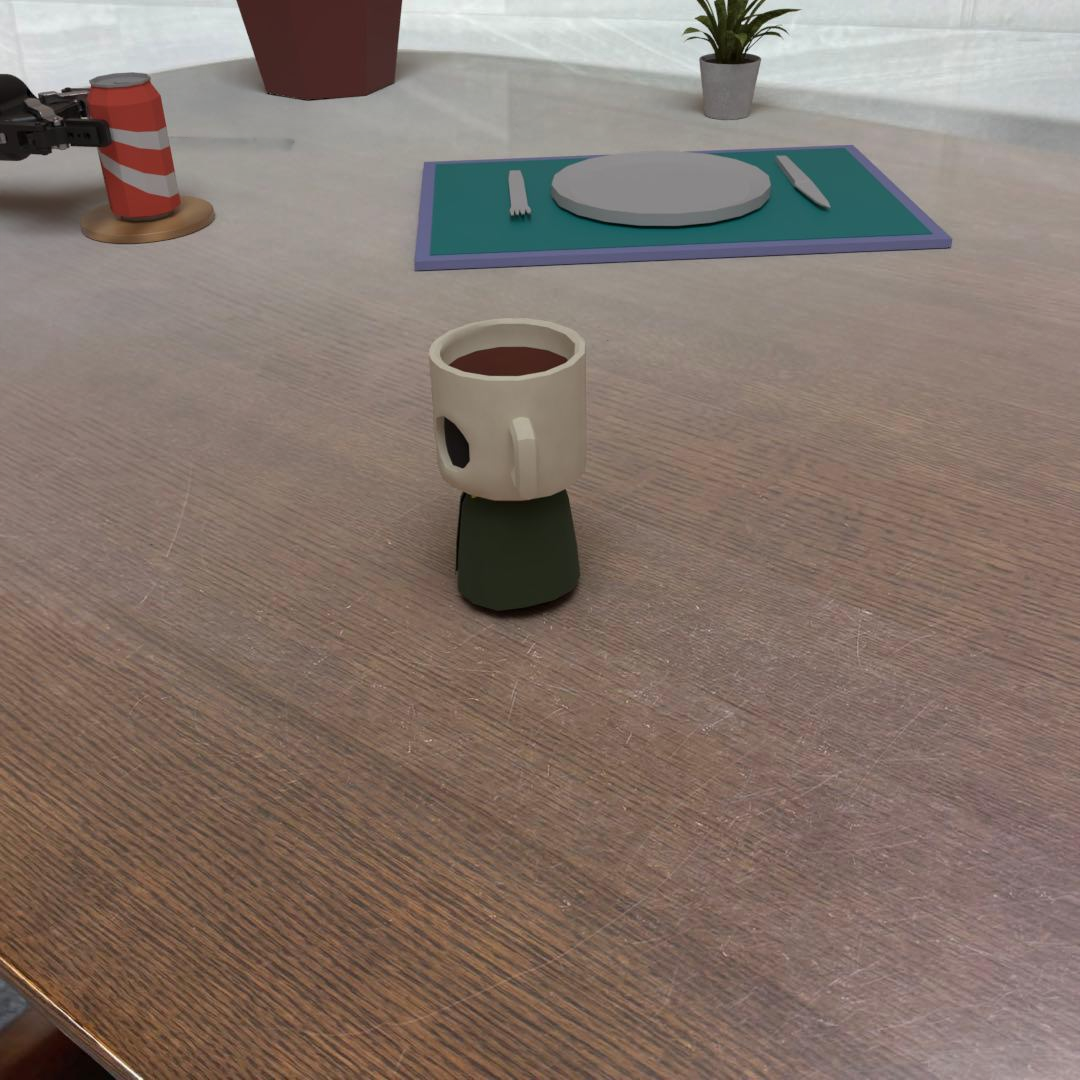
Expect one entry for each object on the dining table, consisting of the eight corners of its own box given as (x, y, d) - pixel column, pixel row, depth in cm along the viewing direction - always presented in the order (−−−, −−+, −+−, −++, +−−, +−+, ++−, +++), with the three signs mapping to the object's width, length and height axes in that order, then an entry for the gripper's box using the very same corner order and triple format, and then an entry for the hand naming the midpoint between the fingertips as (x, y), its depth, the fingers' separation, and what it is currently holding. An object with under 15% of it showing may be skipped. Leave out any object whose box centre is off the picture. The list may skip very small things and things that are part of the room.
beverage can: (179, 221, 110) (153, 83, 103) (107, 226, 109) (76, 88, 103) (185, 201, 115) (160, 69, 108) (116, 206, 114) (87, 73, 108)
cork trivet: (76, 249, 106) (74, 240, 106) (87, 209, 116) (86, 201, 116) (214, 236, 108) (213, 227, 108) (214, 198, 118) (213, 190, 118)
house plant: (697, 137, 133) (705, -24, 124) (638, 111, 144) (641, -39, 135) (805, 121, 138) (820, -35, 129) (740, 97, 148) (750, -49, 140)
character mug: (438, 535, 65) (418, 308, 58) (567, 522, 66) (564, 296, 59) (458, 659, 56) (438, 407, 49) (609, 641, 57) (610, 391, 50)
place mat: (415, 270, 100) (413, 243, 98) (424, 169, 125) (422, 147, 124) (951, 247, 101) (955, 220, 100) (851, 152, 127) (854, 129, 125)
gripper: (26, 138, 118) (177, 143, 115) (-65, 180, 106) (101, 186, 103) (5, 57, 114) (162, 60, 111) (-91, 91, 102) (80, 95, 99)
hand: (132, 121), depth 107 cm, fingers open, 8 cm apart
